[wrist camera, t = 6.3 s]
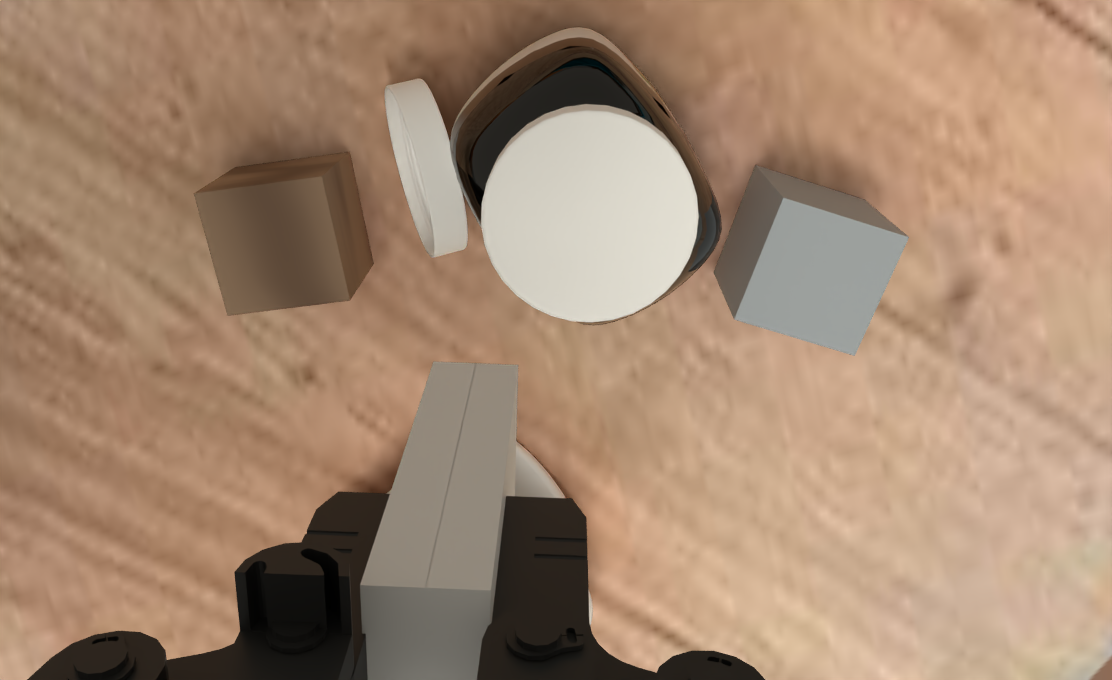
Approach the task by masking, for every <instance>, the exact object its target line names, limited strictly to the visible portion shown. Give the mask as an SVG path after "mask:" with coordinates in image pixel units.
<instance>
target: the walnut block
mask: <svg viewBox="0 0 1112 680" xmlns="http://www.w3.org/2000/svg"><path fill="white" fill-rule="evenodd" d="M194 196H195V200H196V203H197V207H198V210H199V214H200V218H201V221H202V225H203V228H204V232H205V236H206V239H207V243H208V247H209V250H210V254H211V257H212V261H213V265H214V268H215V272H216V275H217V279H218V283H219V286H220V290H221V294H222V297H223V301H224V304H225V308H226V312H227V315H228V316H230V315H238V314H246V313H254V312H262V311H270V310H278V309H286V308H294V307H302V306H310V305H318V304H326V303H334V302H342V301H350V300H351V298H352V297H353V295H354V293H355V292H356V290H357V289H358V287H359V286H360V284H361V283H362V281H363V279H364V278H365V276H366V275H367V273H368V272H369V270H370V269H371V267H372V265H373V264H374V263H373V259H372V254H371V249H370V245H369V240H368V235H367V231H366V226H365V221H364V217H363V212H362V207H361V203H360V198H359V193H358V189H357V184H356V179H355V175H354V170H353V165H352V161H351V156H350V152H344V153H337V154H330V155H322V156H315V157H308V158H300V159H293V160H285V161H278V162H271V163H263V164H256V165H249V166H241V167H235V168H234V169H232V170H230V171H229V172H227V173H226V174H224V175H222V176H221V177H219V178H218V179H216V180H215V181H213V182H211V183H210V184H208V185H207V186H205V187H203V188H202V189H200V190H199V191H197V192H196V193H194Z"/></svg>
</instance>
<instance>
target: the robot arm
mask: <svg viewBox="0 0 1112 680" xmlns="http://www.w3.org/2000/svg"><path fill="white" fill-rule="evenodd" d="M517 393H518V365H506V364H481V363H456V362H433V365H432V368H431V371H430V374H429V377H428V380H427V383H426V386H425V389H424V392H423V395H422V398H421V401H420V404H419V407H418V410H417V414H416V417H415V420H414V423H413V426H412V429H411V432H410V435H409V438H408V441H407V444H406V447H405V450H404V453H403V456H402V459H401V462H400V465H399V468H398V471H397V474H396V477H395V480H394V483H393V486H392V489H391V493H390V494H384V493H359V492H337V493H336V494H335V495H334V496H332V497H331V498H330V499H329V500H328V501H326V502H325V503H324V504H323V505H321V506H320V507H319V508H318V509H316V512H315V514H314V516H313V518H312V520H311V523H310V525H309V527H308V529H307V534H305V536H304V538H303V540H302V542H301V543H286V544H281V545H278V546H274V547H271V548H267V549H264V550H262V551H260V552H258V553H256V554H255V555H253V556H251V557H249V558H248V559H246V560H245V561H244V562H243V563H242V564H241V565H240V567H239V568H238V569H237V570H236V571H235V582H236V592H237V602H238V612H239V623H240V633H239V635H238V637H237V639H236V641H235V643H234V644H232V645H230V646H227V647H225V648H222V649H219V650H215V651H211V652H207V653H203V654H198V655H192V656H187V657H181V658H176V659H170V660H166V652H165V649H164V648H163V647H162V646H161V644H160V643H159V642H158V640H157V639H155V638H153V637H150V636H148V635H146V634H143V633H141V632H129V631H114V632H109V633H103V634H97V635H93V636H91V637H88V638H86V639H83V640H80V641H78V642H75V643H73V644H71V645H69V646H68V647H66V648H65V649H63V650H62V651H61V652H59V653H58V654H56V655H55V656H53V657H52V658H51V659H50V660H48V661H47V662H46V663H45V664H44V665H43V666H42V667H41V668H40V669H39V670H37V671H36V672H35V673H34V674H33V675H32V676H31V677H30V678H29V679H27V680H765V679H764V678H763V677H762V676H761V674H760V673H759V672H758V671H757V670H756V669H755V668H754V667H752V666H750V665H749V664H747V663H745V662H743V661H742V660H740V659H738V658H737V657H734V656H730V655H727V654H723V653H719V652H716V651H689V652H686V653H682V654H679V655H675V656H673V657H671V658H670V659H669V660H667V661H666V662H665V663H663V664H662V665H661V666H660V667H659V669H658V671H657V673H655V672H652V671H648V670H645V669H641V668H638V667H635V666H632V665H630V664H627V663H624V662H622V661H620V660H618V659H617V658H615V657H613V656H612V655H610V654H608V653H607V652H606V651H605V650H604V649H603V648H602V647H601V646H600V645H599V644H598V643H597V641H596V639H595V638H594V636H593V634H592V632H591V627H590V623H589V592H588V560H587V528H586V517H585V515H584V514H583V513H582V511H581V510H580V509H579V507H578V506H577V505H576V503H575V502H574V501H573V499H571V498H546V497H520V496H515V469H516V431H517Z"/></svg>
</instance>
